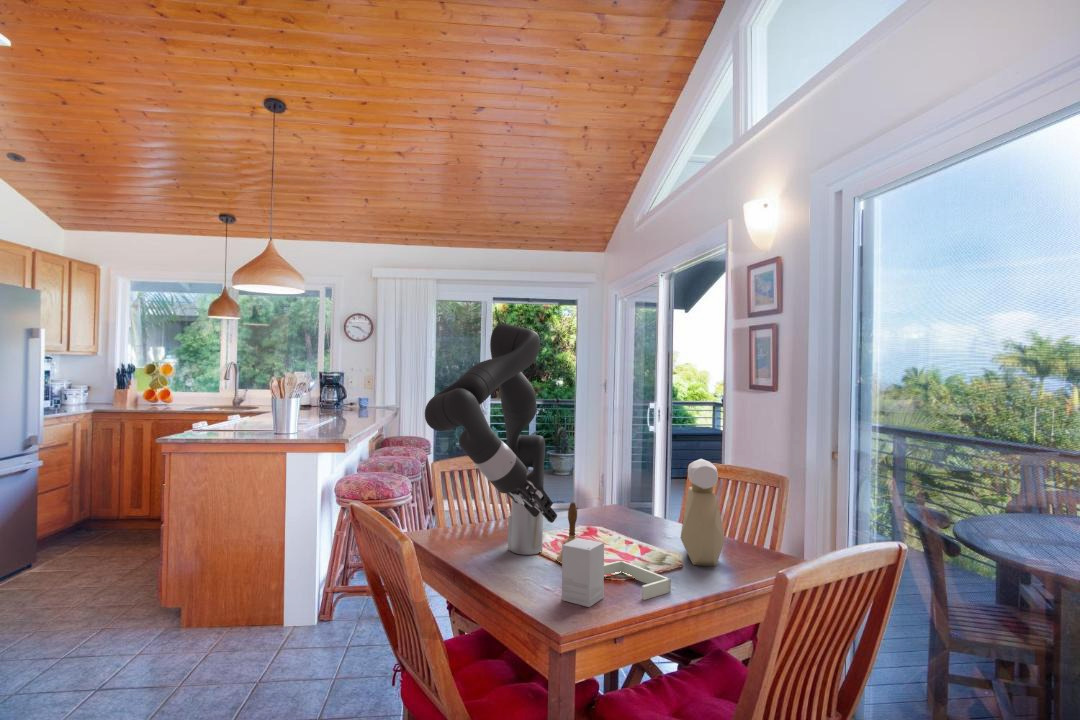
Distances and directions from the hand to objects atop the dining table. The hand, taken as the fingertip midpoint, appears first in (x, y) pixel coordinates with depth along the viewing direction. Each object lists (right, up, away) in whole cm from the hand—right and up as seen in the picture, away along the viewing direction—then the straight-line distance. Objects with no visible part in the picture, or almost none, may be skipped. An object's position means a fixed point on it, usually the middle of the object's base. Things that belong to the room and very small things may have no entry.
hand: (545, 516), depth 127 cm
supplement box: (+9, -21, +6) cm, 23 cm away
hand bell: (+7, -21, +33) cm, 40 cm away
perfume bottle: (+44, -22, +36) cm, 61 cm away
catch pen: (+21, -21, +16) cm, 34 cm away
